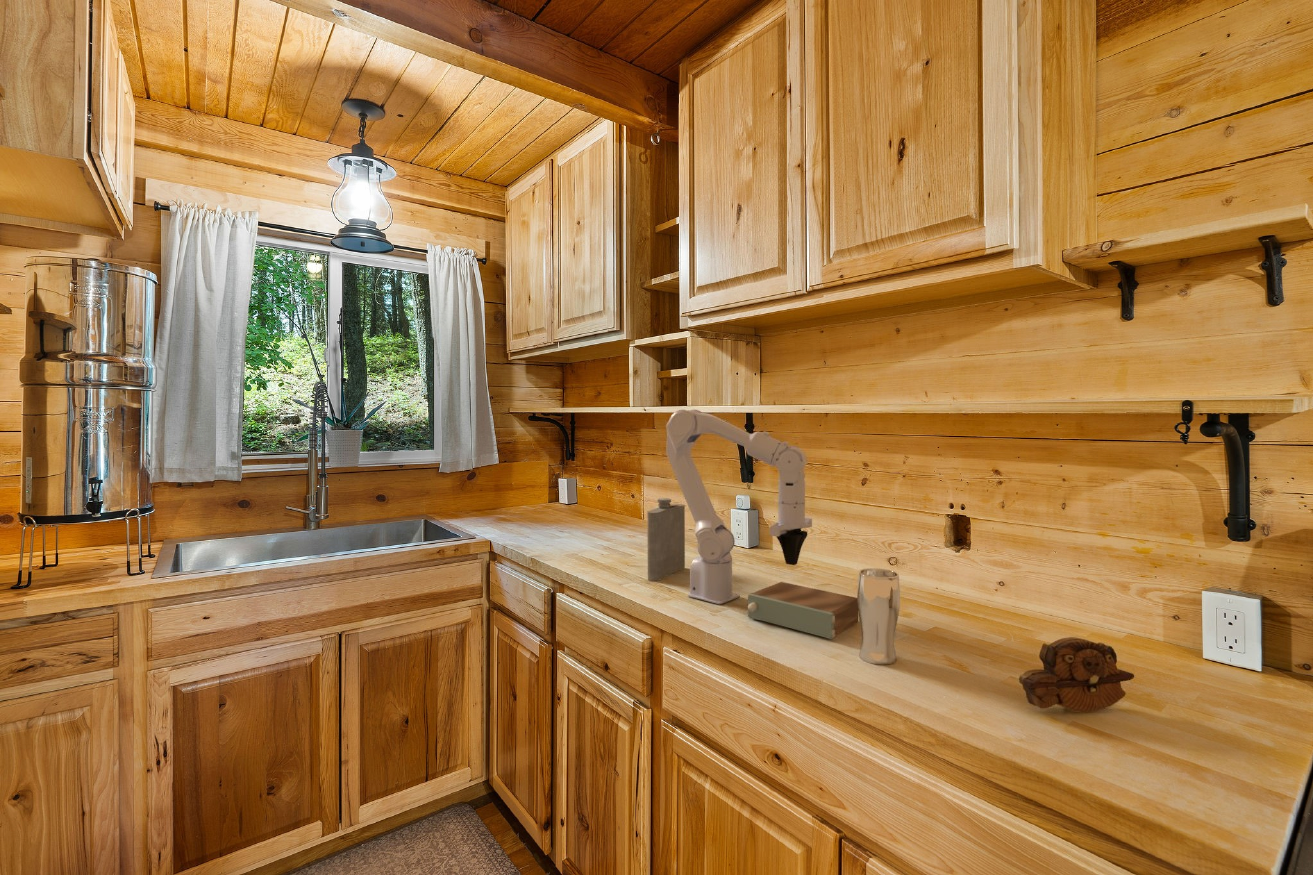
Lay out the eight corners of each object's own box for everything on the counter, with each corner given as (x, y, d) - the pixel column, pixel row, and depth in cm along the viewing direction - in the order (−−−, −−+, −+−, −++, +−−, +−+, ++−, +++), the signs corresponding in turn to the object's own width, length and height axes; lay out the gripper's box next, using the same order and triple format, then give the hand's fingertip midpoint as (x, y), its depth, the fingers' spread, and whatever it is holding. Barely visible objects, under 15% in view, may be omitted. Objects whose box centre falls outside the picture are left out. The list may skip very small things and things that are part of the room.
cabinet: (750, 617, 130) (750, 593, 130) (781, 603, 139) (781, 581, 138) (830, 638, 118) (830, 612, 117) (858, 622, 126) (858, 598, 126)
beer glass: (865, 647, 113) (866, 565, 113) (904, 656, 109) (905, 571, 108) (850, 659, 108) (851, 573, 107) (891, 669, 103) (892, 580, 103)
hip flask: (655, 582, 157) (655, 503, 156) (642, 579, 159) (641, 501, 158) (686, 568, 171) (686, 495, 170) (674, 566, 173) (673, 494, 172)
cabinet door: (744, 618, 128) (744, 595, 128) (750, 615, 130) (750, 593, 129) (829, 641, 115) (829, 616, 115) (835, 637, 117) (835, 613, 116)
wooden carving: (1040, 723, 86) (1041, 651, 85) (1015, 708, 90) (1016, 639, 90) (1141, 712, 89) (1142, 643, 88) (1111, 697, 93) (1113, 631, 93)
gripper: (790, 508, 128) (790, 573, 129) (824, 500, 139) (824, 560, 139) (761, 504, 133) (761, 567, 133) (796, 497, 143) (796, 556, 144)
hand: (791, 564), depth 137 cm, fingers closed
